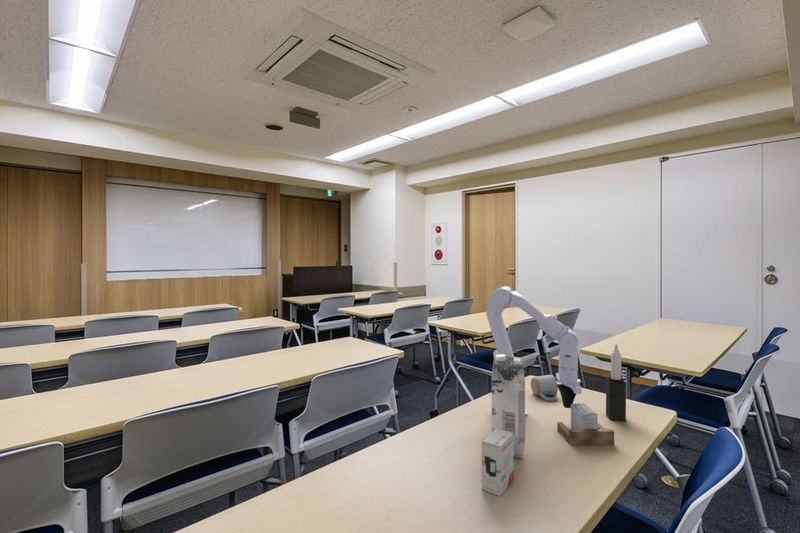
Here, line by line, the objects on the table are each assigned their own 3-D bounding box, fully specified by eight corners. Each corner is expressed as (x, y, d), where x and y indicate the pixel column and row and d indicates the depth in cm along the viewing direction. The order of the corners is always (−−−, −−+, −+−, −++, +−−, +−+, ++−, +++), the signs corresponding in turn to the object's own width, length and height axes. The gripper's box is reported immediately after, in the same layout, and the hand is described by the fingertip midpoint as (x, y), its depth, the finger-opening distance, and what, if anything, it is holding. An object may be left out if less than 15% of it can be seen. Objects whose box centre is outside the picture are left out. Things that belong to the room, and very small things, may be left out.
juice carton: (523, 442, 110) (523, 351, 109) (525, 461, 100) (525, 361, 99) (492, 438, 112) (492, 349, 111) (491, 457, 102) (491, 359, 101)
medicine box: (598, 442, 109) (598, 413, 109) (583, 442, 109) (583, 413, 109) (584, 430, 117) (584, 402, 117) (570, 430, 117) (570, 403, 117)
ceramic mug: (529, 391, 150) (529, 373, 150) (548, 390, 151) (548, 372, 151) (542, 402, 140) (542, 382, 139) (562, 401, 141) (563, 381, 140)
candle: (627, 421, 123) (627, 346, 122) (610, 420, 124) (610, 345, 123) (621, 415, 128) (621, 342, 127) (604, 413, 129) (605, 342, 128)
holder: (570, 445, 108) (571, 431, 108) (557, 429, 117) (557, 417, 117) (614, 445, 108) (614, 431, 108) (597, 429, 117) (597, 417, 117)
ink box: (496, 472, 95) (496, 426, 95) (514, 479, 92) (514, 432, 92) (480, 489, 88) (480, 440, 88) (500, 497, 85) (499, 446, 85)
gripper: (591, 373, 116) (590, 416, 117) (570, 360, 131) (569, 398, 131) (568, 373, 116) (568, 416, 117) (550, 360, 131) (549, 398, 131)
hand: (567, 407), depth 124 cm, fingers closed
